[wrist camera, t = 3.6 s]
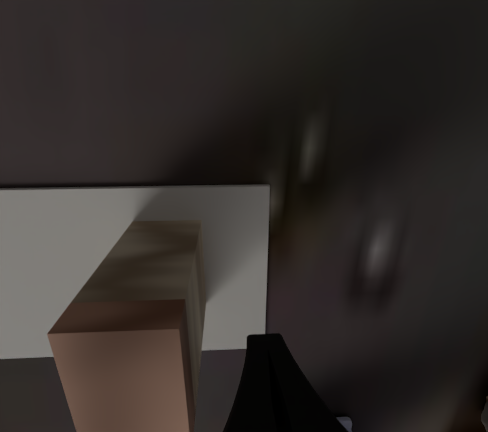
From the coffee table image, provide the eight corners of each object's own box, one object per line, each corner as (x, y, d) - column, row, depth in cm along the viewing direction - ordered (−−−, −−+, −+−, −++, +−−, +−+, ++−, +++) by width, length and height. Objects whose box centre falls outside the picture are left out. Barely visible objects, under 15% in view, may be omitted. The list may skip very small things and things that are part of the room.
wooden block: (201, 220, 18) (179, 328, 9) (206, 303, 20) (191, 452, 12) (132, 221, 18) (46, 334, 9) (144, 305, 20) (84, 458, 11)
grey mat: (269, 184, 18) (270, 186, 17) (263, 343, 22) (264, 347, 22) (-92, 189, 17) (-99, 191, 16) (-22, 355, 21) (-26, 359, 21)
